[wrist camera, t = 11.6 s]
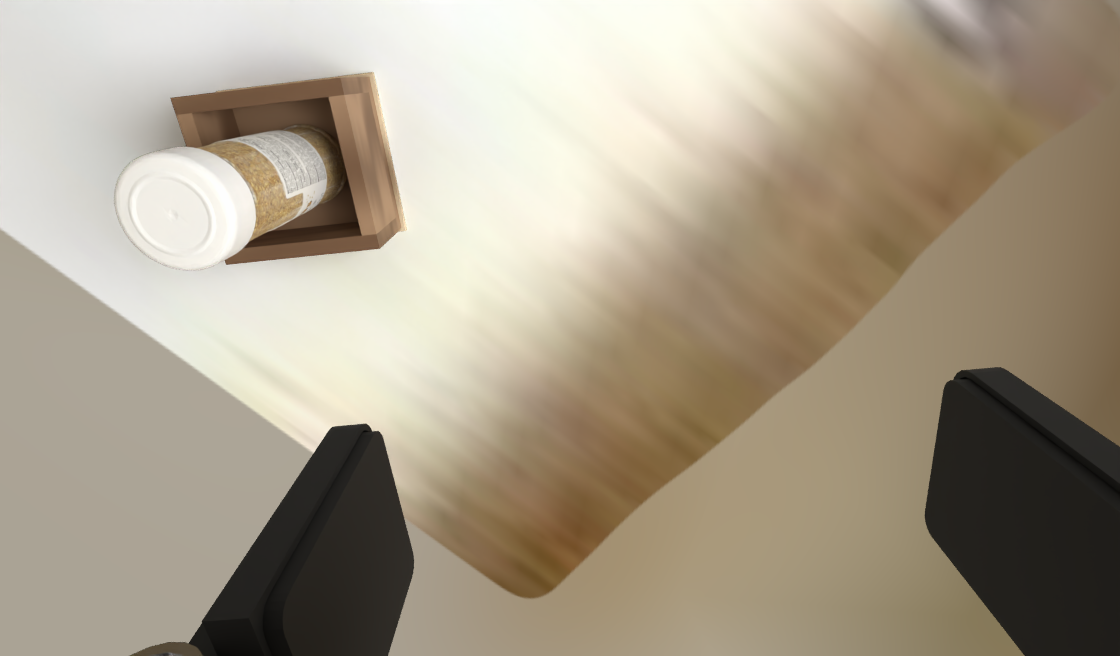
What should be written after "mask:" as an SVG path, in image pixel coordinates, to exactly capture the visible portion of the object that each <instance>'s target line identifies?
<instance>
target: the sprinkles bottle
mask: <svg viewBox="0 0 1120 656" xmlns="http://www.w3.org/2000/svg"><path fill="white" fill-rule="evenodd" d="M346 178H347V172H346V168H345V164H344V160H343V155H342V151H341V148H340V146H339V144H338V143H337V142H336V140H335V139H334V138H333V137H332V136H331V135H330V134H328V133H327V132H326V131H324V130H323V129H320V128H318V127H315V126H312V125H307V124H297V125H292V126H289V127H287V128H284V129H283V130H275V131H268V132H263V133H258V134H252V135H247V136H242V137H237V138H233V139H227V140H222V141H218V142H215V143H212V144H210V145H207V146H203V147H198V148H193V147H174V148H169V149H164V150H159V151H156V152H152V153H149V154H145V155H143V156H140V157H138V158H136V159H135V160H133V161H132V162H131V163H129V164H128V165H127V166H126V167H125V169H124V170H123V171H122V173H121V174H120V176H119V178H118V180H117V183H116V187H115V193H114V204H115V209H116V213H117V217H118V220H119V222H120V225H121V226H122V228H123V230H124V232H125V233H126V235H127V236H128V238H129V239H130V240H131V242H132V243H133V244H134V245H135V246H136V247H137V248H138V249H139V250H140V251H141V252H143V253H144V254H145V255H147V256H148V257H149V258H151V259H152V260H154V261H156V262H158V263H160V264H162V265H165V266H167V267H171V268H175V269H179V270H202V269H205V268H209V267H212V266H214V265H216V264H218V263H220V262H222V261H224V260H226V259H228V258H229V257H231V256H233V255H235V254H236V253H238V252H239V251H240V250H242V249H243V248H244V247H245V245H246V244H247V243H248V242H249V241H251V240H253V239H254V238H256V237H258V236H260V235H262V234H264V233H266V232H269V231H271V230H274V229H276V228H278V227H280V226H282V225H284V224H285V223H287V222H289V221H291V220H293V219H295V218H297V217H298V216H300V215H302V214H304V213H306V212H308V211H310V210H311V209H313V208H314V207H315V206H317V205H318V204H323V203H326V202H328V201H330V200H332V199H333V198H334V197H336V196H337V195H338V194H339V192H340V191H341V190H342V189H343V187H344V184H345V182H346Z"/></svg>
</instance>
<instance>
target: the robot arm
mask: <svg viewBox="0 0 1120 656" xmlns="http://www.w3.org/2000/svg"><path fill="white" fill-rule="evenodd" d="M925 522H926V525H927V528H928V530H929V533H930V534H931V536H932V538H933V539H934V540H935V541H936V543H937V544H938V545H939V547H940V548H941V549H942V551H943V552H944V553H945V554H946V556H947V557H948V558H949V559H950V561H951V562H952V563H953V565H954V566H955V567H956V568H957V570H958V571H959V572H960V574H961V575H962V576H963V577H964V578H965V580H966V581H967V582H968V584H969V585H970V586H971V588H972V589H973V590H974V591H975V592H976V594H977V595H978V597H979V598H980V599H981V600H982V602H983V603H984V604H985V605H986V607H987V608H988V609H989V611H990V612H991V613H992V614H993V616H994V617H995V618H996V619H997V621H998V622H999V623H1000V625H1001V626H1002V627H1003V628H1004V630H1005V631H1006V632H1007V634H1008V635H1009V636H1010V637H1011V639H1012V640H1013V641H1014V643H1015V644H1016V645H1017V646H1018V648H1019V649H1020V650H1021V651H1022V653H1023V654H1024V655H1025V656H1120V447H1119V446H1118V445H1116V444H1115V443H1113V442H1112V441H1110V440H1109V439H1107V438H1106V437H1104V436H1103V435H1101V434H1100V433H1099V432H1097V431H1095V430H1094V429H1093V428H1091V427H1090V426H1088V425H1087V424H1085V423H1084V422H1082V421H1081V420H1079V419H1078V418H1076V417H1075V416H1074V415H1072V414H1070V413H1069V412H1067V411H1066V410H1065V409H1063V408H1062V407H1060V406H1059V405H1057V404H1056V403H1054V402H1053V401H1051V400H1050V399H1049V398H1047V397H1046V396H1044V395H1043V394H1041V393H1039V392H1038V391H1037V390H1035V389H1034V388H1032V387H1031V386H1029V385H1028V384H1026V383H1025V382H1024V381H1022V380H1021V379H1019V378H1017V377H1016V376H1014V375H1013V374H1012V373H1010V372H1009V371H1007V370H1005V369H1003V368H1001V367H995V368H984V369H972V370H961V371H960V372H958V373H957V374H956V376H955V377H954V380H950V381H949V382H947V383H946V385H945V387H944V391H943V397H942V403H941V411H940V417H939V423H938V430H937V437H936V443H935V449H934V456H933V463H932V469H931V475H930V482H929V489H928V495H927V502H926V508H925ZM413 569H414V556H413V551H412V547H411V543H410V539H409V535H408V531H407V528H406V524H405V520H404V516H403V512H402V508H401V505H400V501H399V497H398V493H397V489H396V486H395V482H394V478H393V474H392V470H391V466H390V463H389V459H388V455H387V451H386V447H385V443H384V440H383V437H382V435H381V433H380V432H379V431H374V432H372V430H371V428H370V427H369V425H367V424H357V425H346V426H335V427H332V428H331V429H330V430H329V431H328V433H327V434H326V436H325V437H324V439H323V440H322V442H321V443H320V445H319V446H318V448H317V449H316V451H315V452H314V454H313V455H312V457H311V458H310V460H309V461H308V463H307V464H306V466H305V467H304V469H303V470H302V472H301V473H300V475H299V476H298V478H297V479H296V481H295V482H294V484H293V485H292V487H291V489H290V490H289V491H288V493H287V494H286V496H285V497H284V499H283V500H282V502H281V503H280V505H279V506H278V508H277V509H276V511H275V512H274V514H273V515H272V517H271V518H270V520H269V521H268V523H267V524H266V526H265V527H264V529H263V530H262V532H261V533H260V535H259V536H258V538H257V539H256V541H255V542H254V544H253V545H252V547H251V548H250V550H249V551H248V553H247V554H246V556H245V557H244V559H243V560H242V562H241V563H240V565H239V566H238V568H237V569H236V571H235V572H234V574H233V575H232V577H231V578H230V580H229V581H228V583H227V584H226V586H225V587H224V589H223V590H222V592H221V593H220V595H219V596H218V598H217V599H216V601H215V602H214V604H213V605H212V607H211V608H210V610H209V611H208V613H207V614H206V616H205V617H204V619H203V620H202V624H201V626H200V627H199V628H198V630H197V632H196V633H195V635H194V636H193V637H192V639H191V641H190V642H189V643H186V642H167V643H163V644H159V645H155V646H151V647H148V648H146V649H143V650H141V651H139V652H137V653H134V654H132V655H130V656H388V653H389V650H390V647H391V643H392V640H393V637H394V634H395V631H396V627H397V624H398V621H399V618H400V614H401V611H402V608H403V605H404V602H405V598H406V595H407V592H408V589H409V585H410V582H411V579H412V575H413Z"/></svg>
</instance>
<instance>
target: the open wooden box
mask: <svg viewBox="0 0 1120 656" xmlns="http://www.w3.org/2000/svg"><path fill="white" fill-rule="evenodd" d="M171 101H172V104H173V107H174V110H175V113H176V116H177V119H178V122H179V125H180V128H181V131H182V134H183V137H184V140H185V143H186V146H187V147H193V148H198V147H203V146H207V145H210V144H212V143H215V142H218V141H222V140H227V139H233V138H237V137H242V136H247V135H252V134H258V133H263V132H268V131H275V130H283V129H284V128H287V127H289V126H292V125H297V124H307V125H312V126H315V127H318V128H320V129H323V130H324V131H326V132H327V133H328V134H330V135H331V136H332V137H333V138H334V139H335V140H336V142H337V143H338V144H339V146H340V148H341V151H342V155H343V160H344V164H345V168H346V172H347V178H346V182H345V184H344V187H343V189H342V190H341V191H340V192H339V194H338V195H337V196H336V197H334V198H333V199H332V200H330V201H328V202H326V203H323V204H318V205H317V206H315V207H314V208H313V209H311V210H310V211H308V212H306V213H304V214H302V215H300V216H298V217H297V218H295V219H293V220H291V221H289V222H287V223H285V224H284V225H282V226H280V227H278V228H276V229H274V230H271V231H269V232H266V233H264V234H262V235H260V236H258V237H256V238H254V239H253V240H251V241H249V242H248V243H247V244H246V245H245V247H244V248H243V249H242V250H240V251H239V252H238V253H236V254H235V255H233V256H231V257H229V258H228V259H226V260H225V263H226V265H228V264H238V263H247V262H257V261H266V260H276V259H286V258H295V257H305V256H314V255H324V254H333V253H343V252H352V251H362V250H371V249H380V248H381V247H382V246H383V245H384V244H385V243H386V242H387V241H388V240H389V239H391V238H392V237H393V236H394V235H395V234H396V233H397V232H400V231H406V230H407V228H406V224H405V219H404V214H403V209H402V205H401V200H400V195H399V190H398V186H397V181H396V176H395V171H394V167H393V162H392V157H391V152H390V148H389V143H388V138H387V133H386V129H385V124H384V119H383V114H382V110H381V105H380V100H379V95H378V91H377V86H376V81H375V76H374V72H371V73H363V74H355V75H347V76H338V77H330V78H322V79H314V80H305V81H297V82H289V83H280V84H272V85H264V86H256V87H247V88H239V89H231V90H223V91H216V93H207V94H199V95H191V96H183V97H174V98H171Z"/></svg>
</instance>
